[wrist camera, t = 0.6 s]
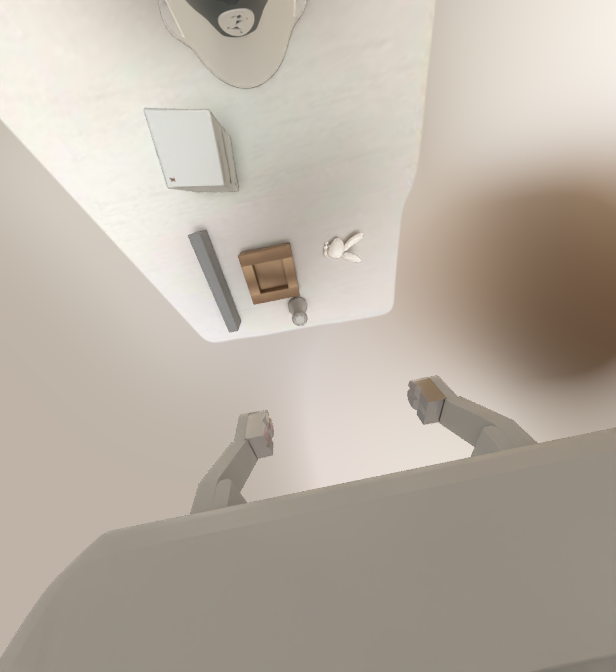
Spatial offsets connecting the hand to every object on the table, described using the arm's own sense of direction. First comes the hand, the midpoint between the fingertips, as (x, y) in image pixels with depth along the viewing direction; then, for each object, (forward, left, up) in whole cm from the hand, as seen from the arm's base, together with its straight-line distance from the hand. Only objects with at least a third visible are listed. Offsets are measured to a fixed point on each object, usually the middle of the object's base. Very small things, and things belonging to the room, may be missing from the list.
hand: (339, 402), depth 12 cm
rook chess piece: (+11, -2, -39) cm, 41 cm away
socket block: (+2, -6, -39) cm, 40 cm away
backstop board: (+2, -17, -39) cm, 43 cm away
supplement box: (-17, -11, -39) cm, 44 cm away
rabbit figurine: (0, +10, -39) cm, 41 cm away
